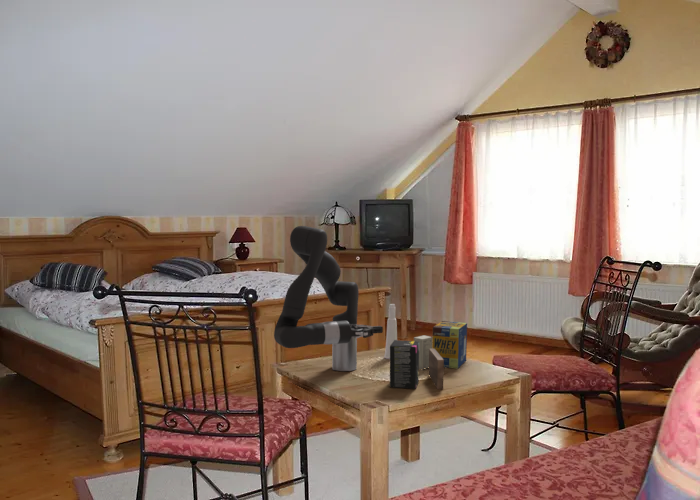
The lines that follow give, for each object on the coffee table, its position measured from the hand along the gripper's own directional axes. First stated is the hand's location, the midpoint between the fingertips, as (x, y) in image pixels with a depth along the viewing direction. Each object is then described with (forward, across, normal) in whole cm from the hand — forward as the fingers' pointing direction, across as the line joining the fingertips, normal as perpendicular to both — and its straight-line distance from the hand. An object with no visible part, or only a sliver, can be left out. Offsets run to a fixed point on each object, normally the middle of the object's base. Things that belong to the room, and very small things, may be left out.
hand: (381, 329), depth 231 cm
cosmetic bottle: (+23, +38, +20) cm, 49 cm away
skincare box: (+26, +18, +20) cm, 38 cm away
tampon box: (+9, 0, +20) cm, 22 cm away
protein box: (+40, +22, +20) cm, 50 cm away
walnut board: (+21, -1, +20) cm, 29 cm away
